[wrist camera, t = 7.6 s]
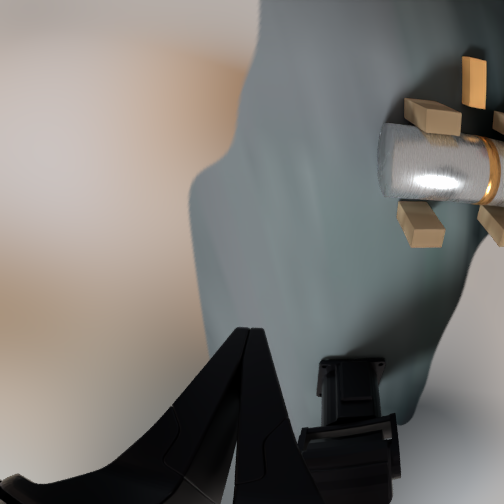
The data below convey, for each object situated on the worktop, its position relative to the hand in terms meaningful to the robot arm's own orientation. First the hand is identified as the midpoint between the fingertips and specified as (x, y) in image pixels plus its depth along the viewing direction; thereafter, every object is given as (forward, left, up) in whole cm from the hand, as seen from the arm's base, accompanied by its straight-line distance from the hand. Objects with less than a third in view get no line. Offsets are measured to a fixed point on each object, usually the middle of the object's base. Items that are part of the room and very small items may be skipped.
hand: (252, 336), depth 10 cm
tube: (+1, -12, -12) cm, 17 cm away
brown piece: (+1, -9, -12) cm, 15 cm away
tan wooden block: (+7, -12, -12) cm, 18 cm away
